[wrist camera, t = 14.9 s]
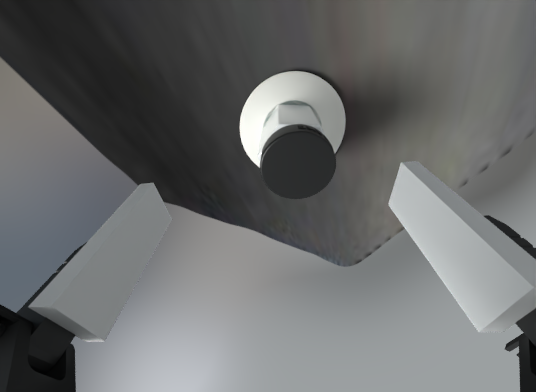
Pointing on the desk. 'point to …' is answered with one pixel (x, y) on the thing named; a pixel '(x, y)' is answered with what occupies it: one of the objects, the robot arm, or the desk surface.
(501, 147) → the desk surface
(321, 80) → the plate
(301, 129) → the jar
